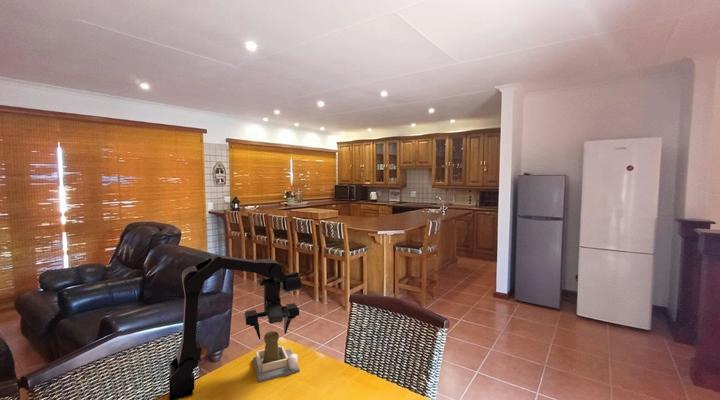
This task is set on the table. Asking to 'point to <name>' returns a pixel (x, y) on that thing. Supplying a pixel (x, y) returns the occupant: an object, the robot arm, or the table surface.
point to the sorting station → (276, 365)
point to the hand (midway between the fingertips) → (272, 336)
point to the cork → (271, 347)
